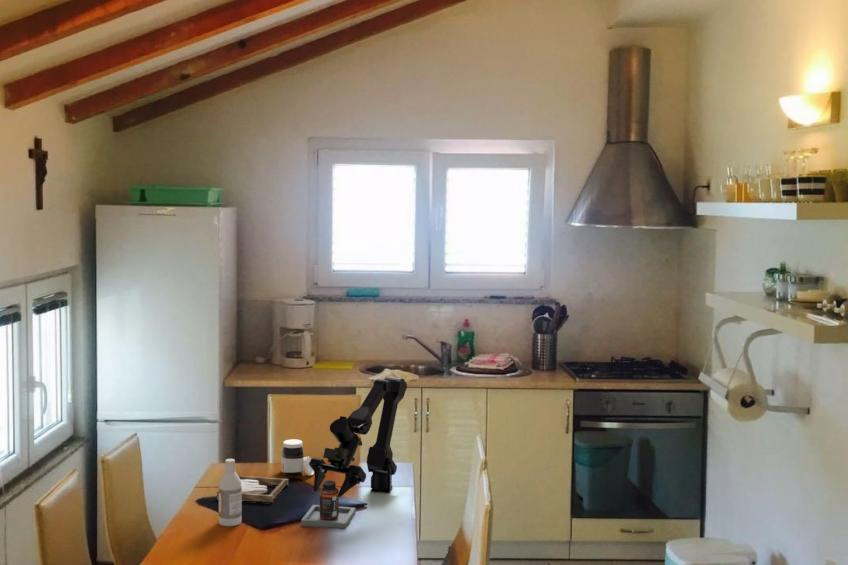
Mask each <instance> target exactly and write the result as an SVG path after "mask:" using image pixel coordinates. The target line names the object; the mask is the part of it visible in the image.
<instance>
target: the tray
mask: <svg viewBox="0 0 848 565" xmlns="http://www.w3.org/2000/svg"><path fill="white" fill-rule="evenodd" d="M315 510H317V511H315ZM356 510H357V509H356V507H351V506H350V507H349V506H339V516H338V517H337V518H336V519H333V520H324V519H322V518H321V517H320V504H312V505H311V507H310V508H309V509H308V510H307V511H306V514H304V516H303V517H302V518H301V521H300V526H302V527H311V528H312V527H313V528H323V529H324V528H325V529H337V530H346V529H347V528H348V527H349V524H350V523H351V521H352V520H353V518H354V516H355V514H356Z"/></svg>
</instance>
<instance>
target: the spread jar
mask: <svg viewBox="0 0 848 565" xmlns="http://www.w3.org/2000/svg"><path fill="white" fill-rule="evenodd" d="M282 443H283V447H282V448H281V449H282V450H281V472H282V474H283V475H284V476H287V477H297V476H301V475H302V474H303V473H304V472H305V474H306V475H307V476H308V477H309V476H313V475H315V473H314V471H313V469H312V468H311V466H310V465H309V462H310V460H311V459H312V458H311V456H305V453H304V452H305V451H304V448H303V441H302V440H301V439H297V438H296V439H294V438H293V439H286V440H284V441H283V442H282Z"/></svg>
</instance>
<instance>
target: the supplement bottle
mask: <svg viewBox="0 0 848 565" xmlns="http://www.w3.org/2000/svg"><path fill="white" fill-rule="evenodd" d="M339 491H340V490H339V489H338V488H337V487H336V481H334V480H325V481H324V480H323V482H322V488H320V490H319V505H320V517H321V518H322V519H324V520H333V519H336V518H337V517H338V516H339V507H340V506H339V505H340V504H339V502H340V501H339V500H340V497H339V496H338V494H339Z"/></svg>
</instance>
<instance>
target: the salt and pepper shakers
mask: <svg viewBox="0 0 848 565" xmlns="http://www.w3.org/2000/svg"><path fill="white" fill-rule="evenodd" d="M241 484H242V493H249V494H263V495H264V493H267V492H268V486H267V485H259V481H257V480H248V479H245V480H241Z"/></svg>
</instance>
